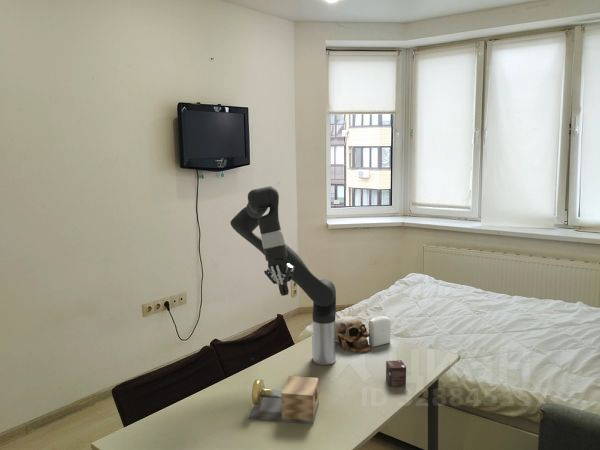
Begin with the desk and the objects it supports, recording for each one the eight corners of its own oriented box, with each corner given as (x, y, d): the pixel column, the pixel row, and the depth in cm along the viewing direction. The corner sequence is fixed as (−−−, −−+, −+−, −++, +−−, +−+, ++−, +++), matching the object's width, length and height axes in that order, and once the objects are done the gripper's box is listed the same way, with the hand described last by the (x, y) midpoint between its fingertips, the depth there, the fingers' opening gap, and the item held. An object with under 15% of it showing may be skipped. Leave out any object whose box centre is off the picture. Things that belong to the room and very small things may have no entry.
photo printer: (372, 347, 208) (372, 320, 206) (367, 344, 212) (367, 317, 210) (392, 343, 213) (392, 316, 211) (386, 340, 216) (386, 313, 215)
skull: (369, 353, 202) (366, 322, 201) (329, 353, 207) (326, 323, 206) (374, 340, 217) (371, 312, 216) (336, 341, 222) (333, 313, 221)
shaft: (252, 409, 155) (251, 386, 154) (258, 397, 163) (258, 375, 162) (301, 413, 152) (301, 389, 151) (306, 400, 160) (305, 378, 159)
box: (385, 379, 179) (385, 360, 178) (401, 378, 179) (401, 359, 178) (389, 387, 173) (390, 367, 172) (406, 386, 173) (406, 366, 172)
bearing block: (248, 418, 154) (247, 390, 153) (258, 399, 166) (257, 373, 164) (313, 423, 150) (312, 395, 149) (318, 404, 162) (318, 377, 160)
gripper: (252, 249, 164) (263, 299, 164) (280, 244, 156) (292, 296, 156) (267, 246, 170) (278, 293, 170) (295, 240, 162) (306, 290, 162)
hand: (285, 295), depth 163 cm, fingers closed
